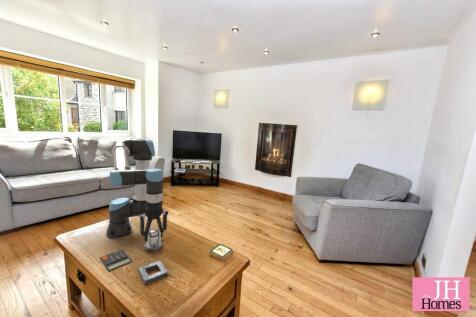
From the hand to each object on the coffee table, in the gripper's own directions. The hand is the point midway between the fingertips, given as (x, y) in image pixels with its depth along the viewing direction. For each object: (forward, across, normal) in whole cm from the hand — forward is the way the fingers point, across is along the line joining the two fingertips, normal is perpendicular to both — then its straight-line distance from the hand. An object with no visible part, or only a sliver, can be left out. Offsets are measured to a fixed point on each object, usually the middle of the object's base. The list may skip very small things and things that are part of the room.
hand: (153, 245), depth 103 cm
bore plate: (+16, 0, 0) cm, 16 cm away
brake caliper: (+16, +8, +22) cm, 29 cm away
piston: (0, 0, 0) cm, 0 cm away
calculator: (+16, -13, +22) cm, 30 cm away
